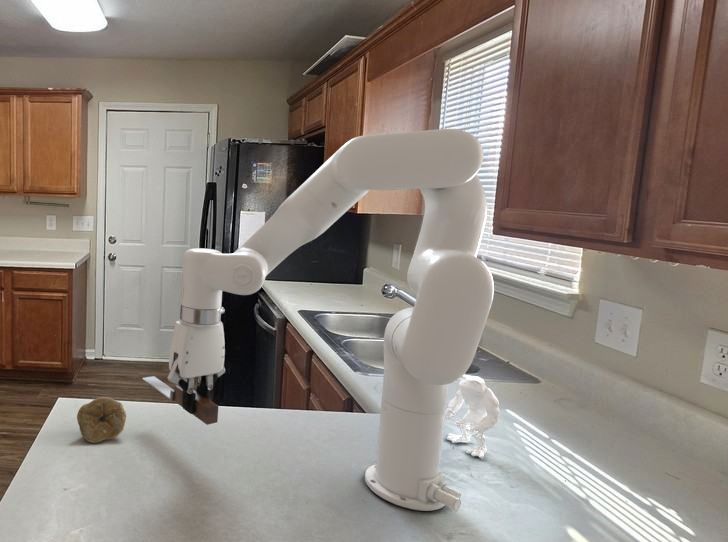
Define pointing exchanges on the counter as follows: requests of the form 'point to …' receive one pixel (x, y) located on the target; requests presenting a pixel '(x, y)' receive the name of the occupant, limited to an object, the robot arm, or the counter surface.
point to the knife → (203, 406)
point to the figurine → (474, 412)
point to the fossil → (101, 419)
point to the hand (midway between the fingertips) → (195, 408)
